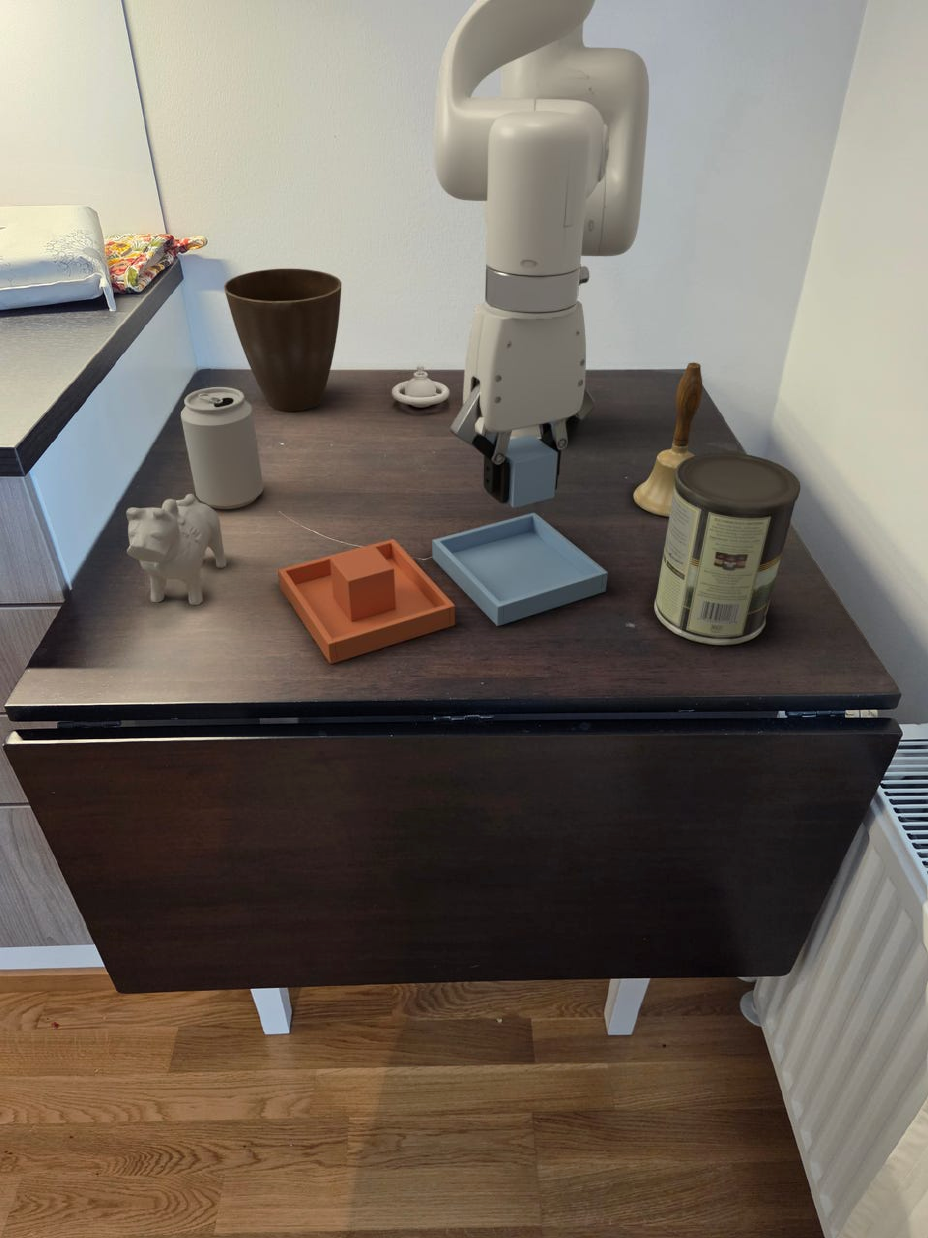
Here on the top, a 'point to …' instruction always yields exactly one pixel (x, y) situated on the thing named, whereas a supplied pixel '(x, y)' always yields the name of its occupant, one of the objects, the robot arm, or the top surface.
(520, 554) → the blue tray
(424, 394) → the ring around a ball
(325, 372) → the flower pot
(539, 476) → the blue block
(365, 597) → the terracotta block
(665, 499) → the hand bell
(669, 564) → the coffee can
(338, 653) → the terracotta tray
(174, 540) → the dog figurine
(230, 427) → the can
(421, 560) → the top surface
